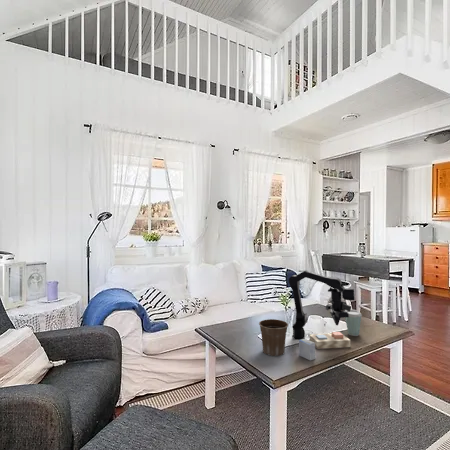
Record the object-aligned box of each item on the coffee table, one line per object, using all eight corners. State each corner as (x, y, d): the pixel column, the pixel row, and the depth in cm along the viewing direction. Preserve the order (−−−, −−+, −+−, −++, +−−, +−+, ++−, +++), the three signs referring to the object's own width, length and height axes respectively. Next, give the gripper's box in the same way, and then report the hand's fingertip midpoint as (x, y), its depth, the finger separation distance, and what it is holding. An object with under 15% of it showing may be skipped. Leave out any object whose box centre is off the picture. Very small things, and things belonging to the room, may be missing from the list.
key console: (317, 348, 176) (317, 341, 176) (309, 341, 188) (309, 334, 188) (350, 346, 178) (350, 340, 178) (340, 339, 190) (340, 332, 190)
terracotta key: (335, 340, 181) (335, 335, 181) (331, 337, 186) (331, 332, 186) (343, 339, 181) (343, 334, 181) (339, 336, 186) (339, 331, 186)
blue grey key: (319, 343, 180) (319, 337, 180) (315, 339, 185) (315, 334, 185) (327, 342, 180) (327, 337, 180) (323, 339, 185) (323, 334, 185)
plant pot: (294, 355, 168) (293, 326, 168) (268, 360, 162) (267, 329, 162) (278, 344, 183) (278, 317, 183) (254, 348, 177) (254, 321, 177)
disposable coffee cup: (365, 336, 195) (365, 312, 195) (352, 338, 192) (351, 314, 192) (354, 330, 205) (353, 308, 205) (340, 332, 202) (340, 310, 202)
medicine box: (315, 358, 163) (315, 342, 163) (309, 360, 161) (309, 344, 161) (304, 353, 170) (304, 338, 170) (298, 355, 167) (298, 339, 167)
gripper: (357, 302, 175) (357, 329, 175) (341, 295, 194) (342, 319, 194) (338, 303, 174) (339, 330, 174) (324, 296, 193) (325, 320, 192)
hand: (337, 325), depth 183 cm, fingers closed
